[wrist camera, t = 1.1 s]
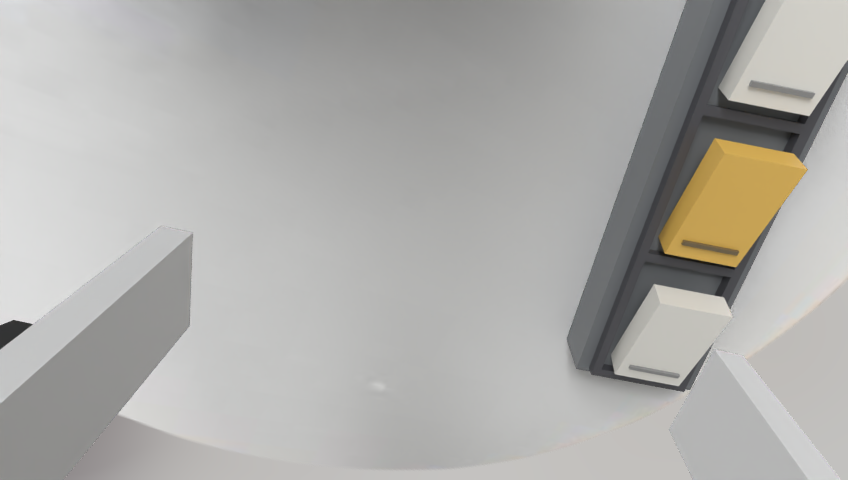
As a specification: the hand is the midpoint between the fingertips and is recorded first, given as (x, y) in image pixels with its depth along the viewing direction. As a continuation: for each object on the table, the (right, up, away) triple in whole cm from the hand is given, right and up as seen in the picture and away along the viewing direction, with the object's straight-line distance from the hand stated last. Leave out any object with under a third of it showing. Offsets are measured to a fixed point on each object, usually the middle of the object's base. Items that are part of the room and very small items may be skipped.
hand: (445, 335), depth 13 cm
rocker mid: (+18, +5, +20) cm, 28 cm away
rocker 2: (+20, +14, +16) cm, 29 cm away
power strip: (+19, +8, +24) cm, 32 cm away
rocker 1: (+17, -4, +24) cm, 30 cm away
